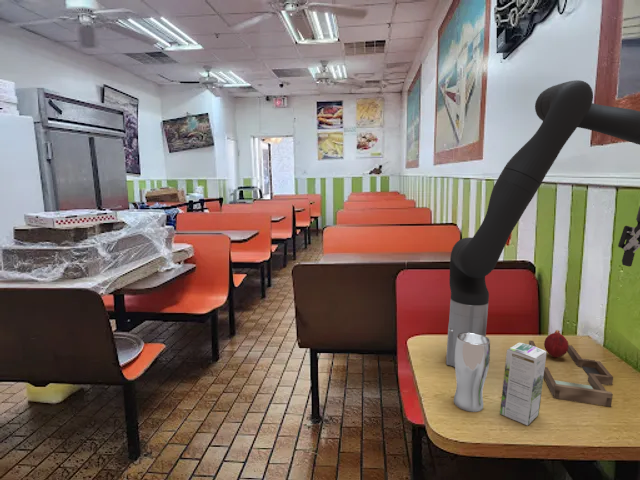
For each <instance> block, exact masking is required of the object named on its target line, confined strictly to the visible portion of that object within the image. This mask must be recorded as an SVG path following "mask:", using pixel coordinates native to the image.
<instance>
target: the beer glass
mask: <svg viewBox="0 0 640 480" xmlns="http://www.w3.org/2000/svg"><path fill="white" fill-rule="evenodd" d="M490 361H491V340H490V338H489V337H487V336H483V335H481V334H477V333H460V334H458V335H457V341H456V348H455V367H454V369H455V370H454V371H455V372H454V373H455V379H456V380H455V381H456V389H455V393H454V397H453V403H454V405H455V407H458V408H459V409H460V410H463V411H465V412H469V413H477V412H480V411H482V410H483V409H484V399H483V398H484V397H483V390H484V385H485V382H486V379H487V375H488V373H489V368H490Z"/></svg>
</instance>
